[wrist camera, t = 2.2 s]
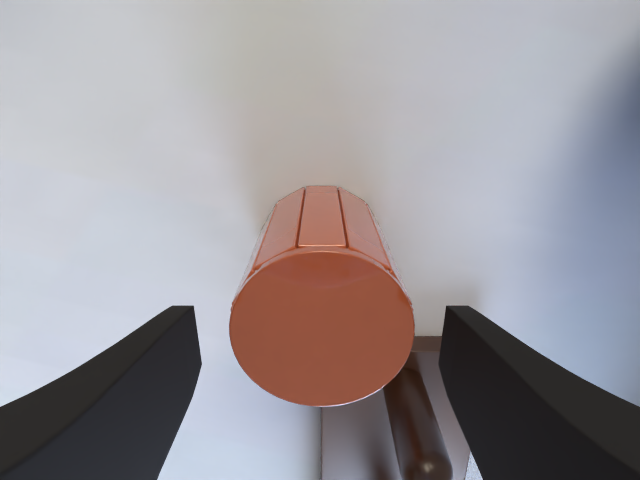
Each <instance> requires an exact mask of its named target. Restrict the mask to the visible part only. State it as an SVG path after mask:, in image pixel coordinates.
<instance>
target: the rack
mask: <svg viewBox="0 0 640 480" xmlns="http://www.w3.org/2000/svg"><path fill="white" fill-rule="evenodd" d="M441 340H442V336H414V340H413V345H412V348H411V351H410V354H409V356H408V358H407V360H406V362H405V364H404V366H403V367H402V368H401V370H400V371H399V373H398V374H397V375H396V376H395V377H394V378H393V379H392V380H391V381H390V382H389V383H388V384H386V385H385V386H384V387H383V388H381V389H380V390H378V391H377V392H375V393H373V394H371V395H369V396H367V397H365V398H363V399H360V400H358V401H355V402H352V403H348V404H344V405H337V406H326V407H321V480H465V475H466V470H467V465H468V460H469V455H470V448H469V446H468V443H467V441H466V439H465V437H464V434H463V432H462V430H461V427H460V425H459V423H458V421H457V418H456V416H455V414H454V411H453V409H452V406H451V404H450V402H449V399H448V397H447V394H446V390H445V387H444V384H443V380H442V376H441V373H440V369H439V365H438V362H439V355H440V348H441Z"/></svg>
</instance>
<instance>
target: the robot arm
mask: <svg viewBox="0 0 640 480" xmlns="http://www.w3.org/2000/svg"><path fill="white" fill-rule="evenodd" d="M201 365H202V362H201V355H200V348H199V341H198V333H197V326H196V319H195V312H194V306H171V307H169V308H168V309H166V310H164V311H163V312H161V313H160V314H158V315H157V316H155V317H154V318H152V319H151V320H149V321H148V322H147V323H145V324H144V325H142V326H141V327H139V328H138V329H136V330H135V331H133V332H132V333H131V334H129V335H128V336H126V337H125V338H123V339H122V340H120V341H119V342H117V343H116V344H114V345H113V346H111V347H110V348H108V349H106V350H105V351H103V352H102V353H100V354H98V355H97V356H95V357H94V358H92V359H90V360H89V361H87V362H86V363H84V364H82V365H81V366H79V367H78V368H76V369H74V370H72V371H71V372H69V373H67V374H65V375H64V376H62V377H60V378H58V379H56V380H54V381H52V382H51V383H49V384H47V385H45V386H43V387H41V388H39V389H37V390H35V391H33V392H31V393H29V394H27V395H25V396H23V397H21V398H19V399H17V400H14V401H12V402H10V403H8V404H6V405H4V406H1V407H0V480H157V478H158V476H159V473H160V471H161V469H162V466H163V464H164V462H165V459H166V457H167V455H168V453H169V450H170V448H171V446H172V443H173V441H174V439H175V437H176V434H177V432H178V430H179V427H180V425H181V423H182V421H183V418H184V416H185V414H186V411H187V409H188V406H189V404H190V402H191V399H192V397H193V394H194V390H195V387H196V384H197V380H198V376H199V373H200V369H201ZM438 365H439V369H440V373H441V376H442V380H443V384H444V387H445V390H446V394H447V397H448V399H449V402H450V404H451V406H452V409H453V411H454V414H455V416H456V418H457V421H458V423H459V425H460V427H461V430H462V432H463V434H464V437H465V439H466V441H467V443H468V446H469V448H470V450H471V453H472V455H473V457H474V459H475V462H476V464H477V466H478V469H479V471H480V473H481V476H482V478H483V480H640V407H639V406H636V405H634V404H632V403H630V402H628V401H626V400H623V399H621V398H619V397H617V396H615V395H613V394H611V393H609V392H607V391H605V390H603V389H601V388H599V387H598V386H596V385H594V384H592V383H590V382H588V381H586V380H584V379H582V378H580V377H579V376H577V375H575V374H573V373H571V372H570V371H568V370H566V369H565V368H563V367H561V366H560V365H558V364H556V363H555V362H553V361H551V360H550V359H548V358H546V357H545V356H543V355H541V354H540V353H538V352H537V351H535V350H534V349H532V348H531V347H529V346H527V345H526V344H524V343H523V342H521V341H520V340H518V339H517V338H515V337H514V336H513V335H511V334H510V333H508V332H507V331H505V330H504V329H502V328H501V327H499V326H498V325H497V324H495V323H494V322H492V321H491V320H489V319H488V318H486V317H485V316H483V315H482V314H480V313H479V312H477V311H476V310H474V309H473V308H471V307H469V306H446V312H445V319H444V326H443V333H442V340H441V348H440V355H439V362H438Z"/></svg>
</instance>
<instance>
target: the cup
mask: <svg viewBox="0 0 640 480" xmlns="http://www.w3.org/2000/svg"><path fill="white" fill-rule="evenodd" d="M414 332H415V323H414V316H413V308H412V302H411V300H410V298H409V295H408V293H407V290H406V288H405V286H404V283H403V281H402V278H401V276H400V274H399V271H398V269H397V266H396V264H395V262H394V259H393V257H392V254H391V252H390V250H389V247H388V245H387V242H386V240H385V238H384V235H383V233H382V230H381V228H380V226H379V224H378V222H377V221H376V219H375V217H374V215H373V213H372V211H371V210H370V208H369V206H368V204H366V203H365V201H363V200H362V199H360V198H358V197H356V196H355V195H353V194H351V193H349V192H348V191H346V190H344V189H343V188H341V187H339V188H338V190H337V186H306V189H305V188H304V187H302V188H301V189H299V190H297V191H295V192H294V193H292V194H290V195H288V196H287V197H285V198H283V199H281V200H280V201H278V204H275V206H274V208H273V210H272V212H271V213H270V215H269V217H268V219H267V220H266V222H265V224H264V226H263V228H262V230H261V233H260V235H259V238H258V240H257V243H256V245H255V248H254V250H253V253H252V255H251V258H250V260H249V262H248V265H247V267H246V270H245V272H244V275H243V277H242V280H241V282H240V285H239V287H238V289H237V292H236V294H235V297H234V299H233V302H232V307H231V314H230V322H229V335H230V341H231V346H232V349H233V352H234V355H235V357H236V359H237V361H238V363H239V364H240V366H241V367H242V369H243V370H244V372H245V373H246V374H247V375H248V376H249V377H250V378H251V379H252V380H253V381H254V382H255V383H256V384H257V385H259V386H260V387H261V388H263V389H264V390H266V391H267V392H269V393H270V394H272V395H274V396H276V397H278V398H281V399H283V400H286V401H289V402H292V403H296V404H300V405H306V406H317V407H326V406H337V405H344V404H348V403H352V402H355V401H358V400H360V399H363V398H365V397H367V396H369V395H371V394H373V393H375V392H377V391H378V390H380V389H381V388H383V387H384V386H385V385H386V384H388V383H389V382H390V381H391V380H392V379H393V378H394V377H395V376H396V375H397V374H398V373H399V371H400V370H401V368H402V367H403V366H404V364H405V362H406V360H407V358H408V356H409V354H410V351H411V348H412V345H413V340H414Z"/></svg>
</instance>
